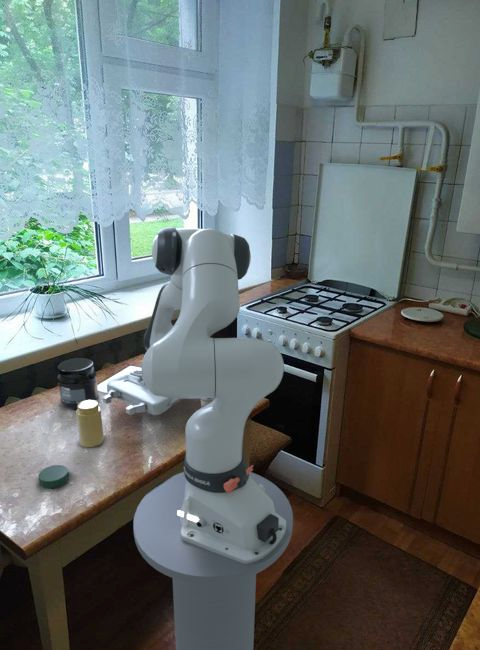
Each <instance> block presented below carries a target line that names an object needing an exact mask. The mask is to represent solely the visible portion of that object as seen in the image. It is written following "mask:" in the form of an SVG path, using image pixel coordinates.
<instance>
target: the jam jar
mask: <svg viewBox="0 0 480 650" xmlns="http://www.w3.org/2000/svg"><path fill="white" fill-rule="evenodd" d="M75 410H76V411H75V414H76V424H77V430H78V431H77V432H78V438H79V439H78V440H79V444H80V446H82V447H84V448H95V447H97V446H100V445H102V443H103V442H104V441H105V440H104V439H105V437H104V427H103V417H102V408H101V407H100V405H99V402H98V400H97V401H95V400H85V401H82V402H80V403H79V404H78V409H75Z"/></svg>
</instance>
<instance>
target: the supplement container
mask: <svg viewBox="0 0 480 650" xmlns="http://www.w3.org/2000/svg"><path fill="white" fill-rule="evenodd" d="M57 370H58V375H57V382H58V389H59V397H60V403H61V405H62V406H63V407H65V408H67V409H71V410H77V409H78V404H79V403H80V402H82V401H85V400H95V401H97V402H98V400H99V397H100V395H99V391H98V388H97V385H98V381H97V379H98V378H97V376H98V375H97V372H96V370H95V364H94V361H93V360H92V359H89V358H85V357H83V358H82V357H76V358H69V359H67V360H66V359H65V360H63V361H61V362H60V363H59V364H58V365H57Z"/></svg>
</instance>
